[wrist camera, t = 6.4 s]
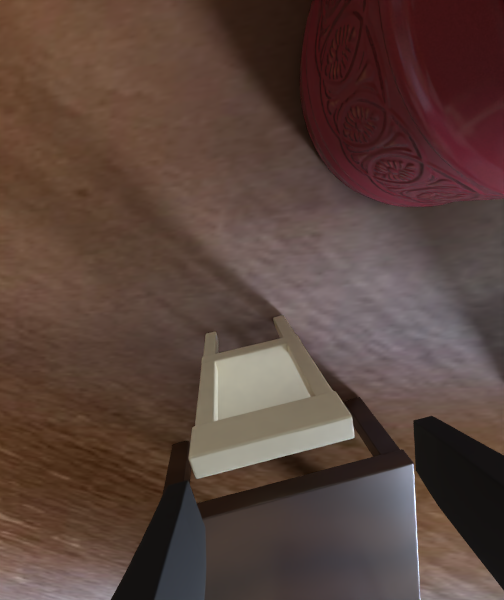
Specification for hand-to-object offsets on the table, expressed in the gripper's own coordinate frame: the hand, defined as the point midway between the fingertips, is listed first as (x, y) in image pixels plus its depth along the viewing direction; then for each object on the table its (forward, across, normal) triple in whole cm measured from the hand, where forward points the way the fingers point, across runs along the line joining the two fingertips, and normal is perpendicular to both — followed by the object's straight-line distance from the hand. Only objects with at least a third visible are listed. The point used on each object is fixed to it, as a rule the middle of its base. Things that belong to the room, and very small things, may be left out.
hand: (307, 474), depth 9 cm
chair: (+10, +1, +1) cm, 10 cm away
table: (+10, +1, +12) cm, 16 cm away
